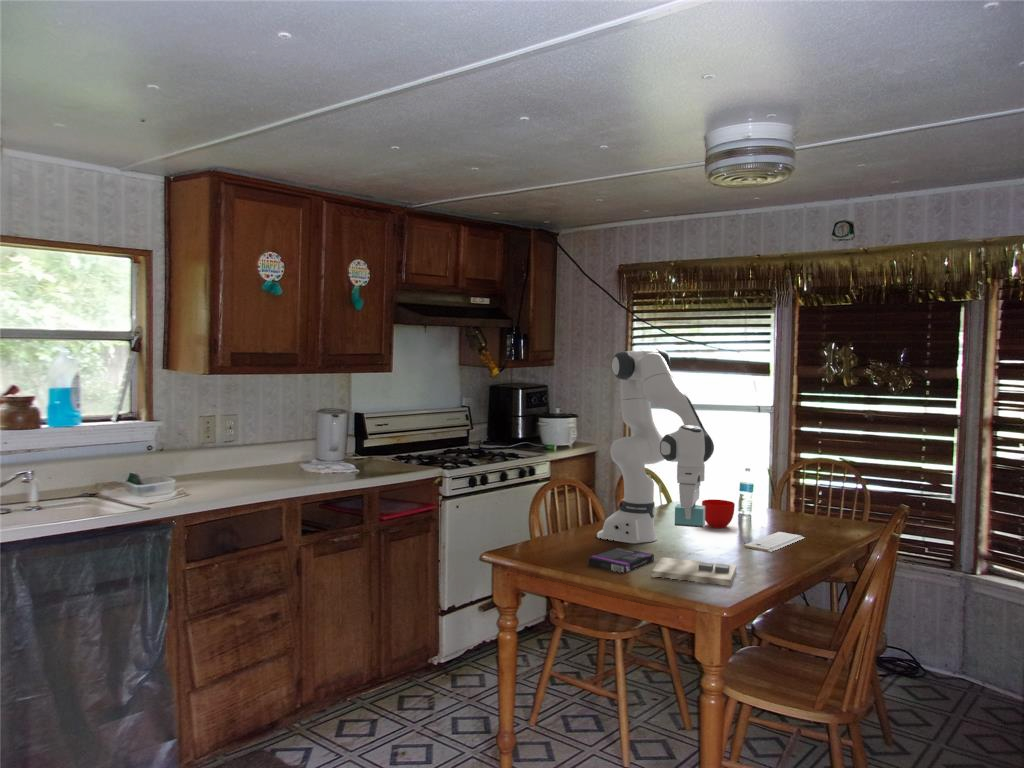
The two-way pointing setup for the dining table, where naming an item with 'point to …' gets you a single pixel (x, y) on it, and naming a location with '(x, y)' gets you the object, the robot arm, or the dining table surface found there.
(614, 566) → the box
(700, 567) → the grey block
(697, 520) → the block
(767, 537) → the white spiral notebook
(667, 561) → the board
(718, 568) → the grey block
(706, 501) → the red bowl
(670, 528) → the dining table surface
